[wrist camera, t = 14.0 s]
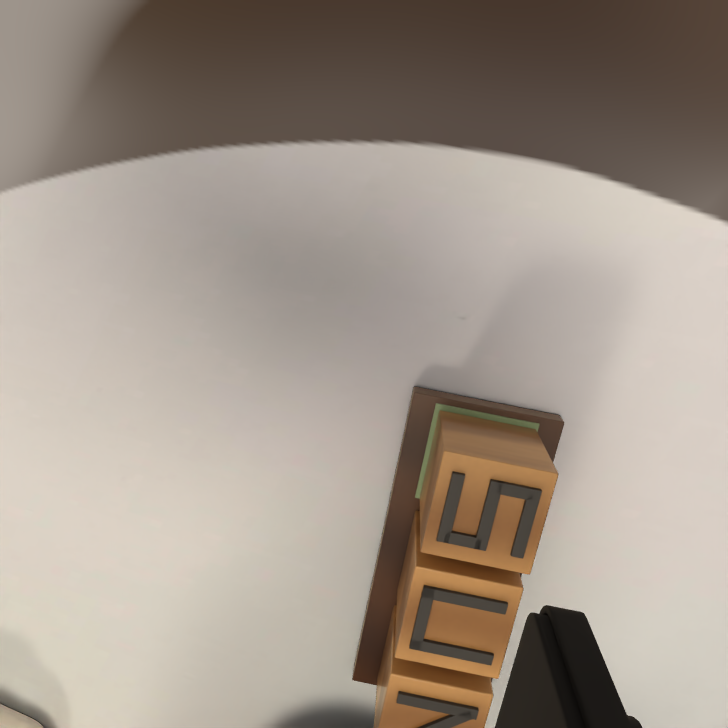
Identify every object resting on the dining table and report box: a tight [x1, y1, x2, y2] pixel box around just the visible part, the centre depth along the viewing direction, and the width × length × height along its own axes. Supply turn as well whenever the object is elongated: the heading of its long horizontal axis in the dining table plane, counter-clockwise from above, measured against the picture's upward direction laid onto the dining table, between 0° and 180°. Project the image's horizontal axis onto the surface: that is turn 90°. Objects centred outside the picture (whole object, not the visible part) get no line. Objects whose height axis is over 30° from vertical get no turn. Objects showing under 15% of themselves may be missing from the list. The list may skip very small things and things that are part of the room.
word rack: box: [352, 387, 564, 728], centre depth 31 cm, size 16×7×6 cm, turn 169°
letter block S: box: [420, 410, 558, 574], centre depth 29 cm, size 4×4×5 cm
